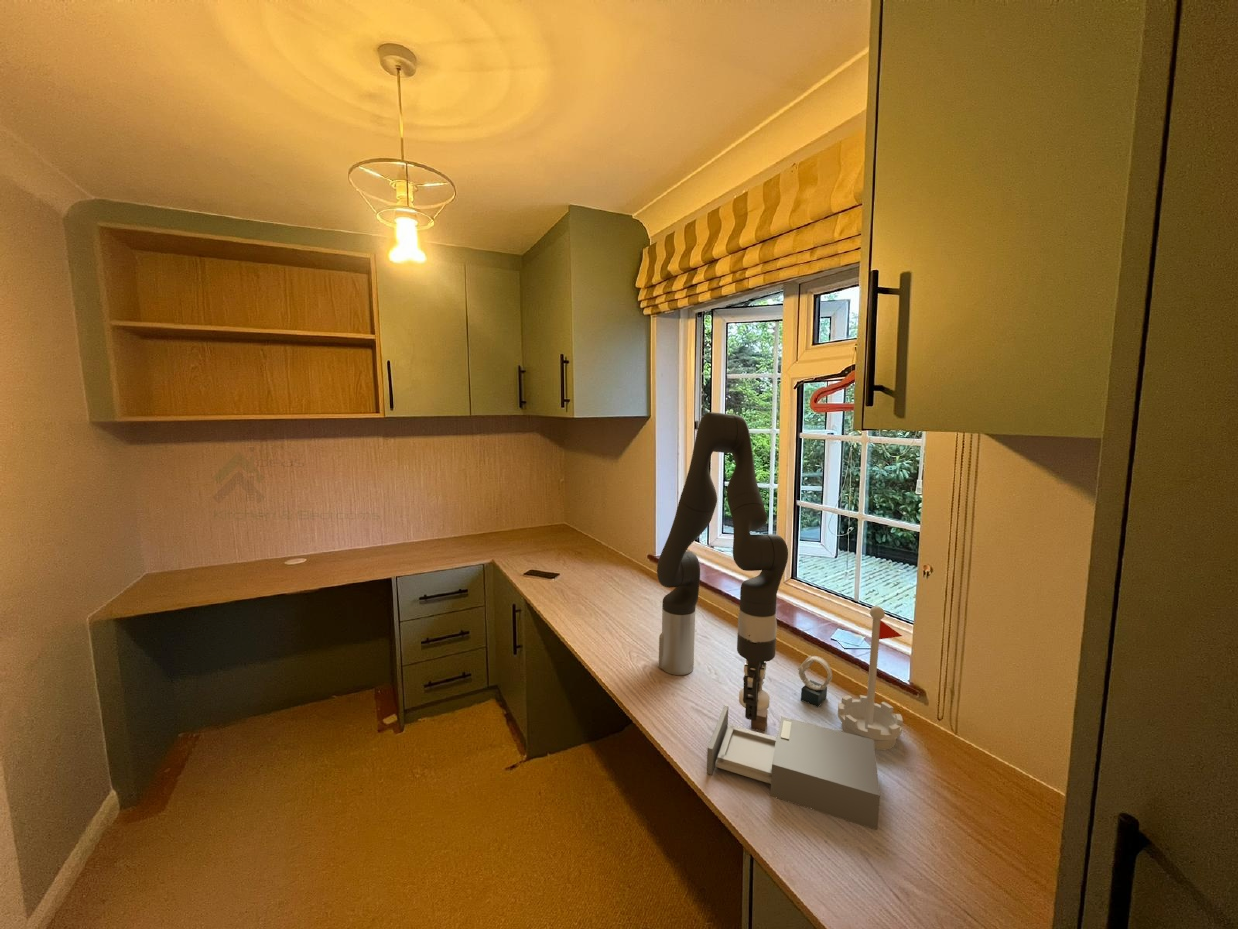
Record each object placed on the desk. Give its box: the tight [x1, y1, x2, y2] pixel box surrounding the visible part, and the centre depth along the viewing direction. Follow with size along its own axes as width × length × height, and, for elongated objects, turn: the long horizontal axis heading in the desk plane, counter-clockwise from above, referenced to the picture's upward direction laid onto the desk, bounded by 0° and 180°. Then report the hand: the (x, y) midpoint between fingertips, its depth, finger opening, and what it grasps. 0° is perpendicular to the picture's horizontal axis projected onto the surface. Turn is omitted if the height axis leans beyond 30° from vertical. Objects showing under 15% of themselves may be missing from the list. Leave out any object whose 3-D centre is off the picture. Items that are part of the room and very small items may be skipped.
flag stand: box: [837, 605, 904, 751], centre depth 110 cm, size 13×13×30 cm
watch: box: [797, 655, 833, 708], centre depth 124 cm, size 6×8×11 cm
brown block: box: [750, 709, 769, 733], centre depth 113 cm, size 3×3×4 cm
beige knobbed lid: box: [738, 687, 771, 711], centre depth 100 cm, size 6×6×2 cm
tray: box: [706, 705, 777, 785], centre depth 101 cm, size 18×16×6 cm
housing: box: [769, 715, 881, 830], centre depth 96 cm, size 18×16×7 cm
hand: (753, 709), depth 101 cm, fingers closed on beige knobbed lid, 6 cm apart
